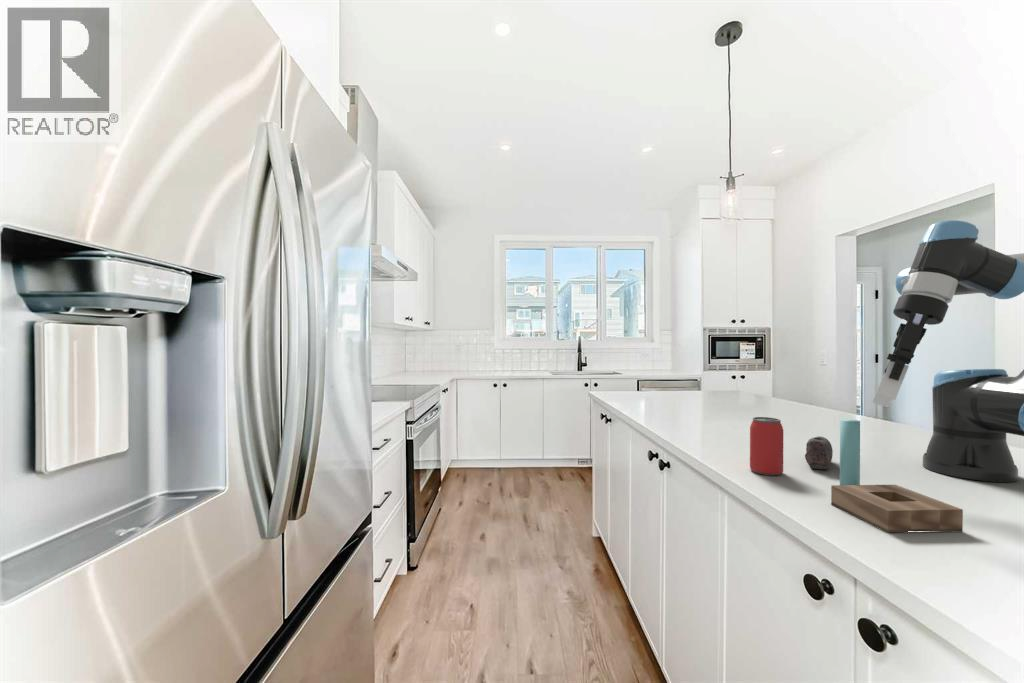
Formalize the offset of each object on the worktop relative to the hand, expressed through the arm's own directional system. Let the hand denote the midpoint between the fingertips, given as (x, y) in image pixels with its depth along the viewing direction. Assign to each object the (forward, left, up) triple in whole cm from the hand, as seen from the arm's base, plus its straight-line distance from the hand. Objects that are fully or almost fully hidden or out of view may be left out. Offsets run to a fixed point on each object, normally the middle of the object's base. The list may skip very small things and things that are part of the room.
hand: (882, 401), depth 88 cm
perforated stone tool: (-2, -20, -18) cm, 27 cm away
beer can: (+14, -15, -18) cm, 27 cm away
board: (+8, +11, -18) cm, 23 cm away
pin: (+5, -2, -18) cm, 19 cm away
